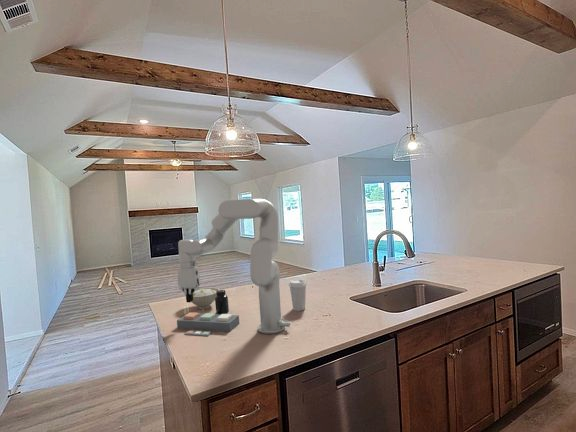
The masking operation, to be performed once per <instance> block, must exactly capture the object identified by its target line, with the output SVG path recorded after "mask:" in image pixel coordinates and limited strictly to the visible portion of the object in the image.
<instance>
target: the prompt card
mask: <svg viewBox="0 0 576 432" xmlns="http://www.w3.org/2000/svg"><path fill="white" fill-rule="evenodd" d="M212 333H213V331H209V330H193V329H188V330H187V331H186V332H185V333H184V335H185V336H197V335H199V337H202V336H203V337H209V336H210V335H212Z"/></svg>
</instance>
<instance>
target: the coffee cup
mask: <svg viewBox="0 0 576 432" xmlns="http://www.w3.org/2000/svg"><path fill="white" fill-rule="evenodd" d="M288 286H289V291H290V297H291V302H292V303H291V304H292V309H293V311H297V312H300V311H301V312H302V311H305V310H306V294H307V292H306V291H307V290H306V289H307V281H305V279H300V278H299V279H298V278H297V279H292V280H290V281H289V283H288Z"/></svg>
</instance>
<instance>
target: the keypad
mask: <svg viewBox="0 0 576 432" xmlns="http://www.w3.org/2000/svg"><path fill="white" fill-rule="evenodd" d="M187 314H188V313H186V314H185V315H187ZM204 314H205V313H199V316H198V317H197V318H195V319H194V320H192V319H184V316H185V315H183V316H182V317H180V318H179V319H177V320H176V325H177V326H176V327H177V328H178V329H179V330H180V329H181V330H193V329H195V330H196V331H212V332H225V333H226V332H228V333H229V332H232V331H233V330H234V329H235V328H236V327H237V326H239V325H240V315H238V314H237V315H235V314H232V318H231V319H230V320H229V321H217V317H219V316H220V315H219V314H217V313H214V314H215V317H214V318H213V319H212V320H200V317H201V316H202V315H204Z"/></svg>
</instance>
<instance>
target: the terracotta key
mask: <svg viewBox="0 0 576 432" xmlns="http://www.w3.org/2000/svg"><path fill="white" fill-rule="evenodd" d="M186 314H187V315H186ZM186 314H185V315H183V316H184V319H192V320H194V319H195V318H197V317H198V316H199V314H200V312H191V311H190V312H188V313H186Z"/></svg>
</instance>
